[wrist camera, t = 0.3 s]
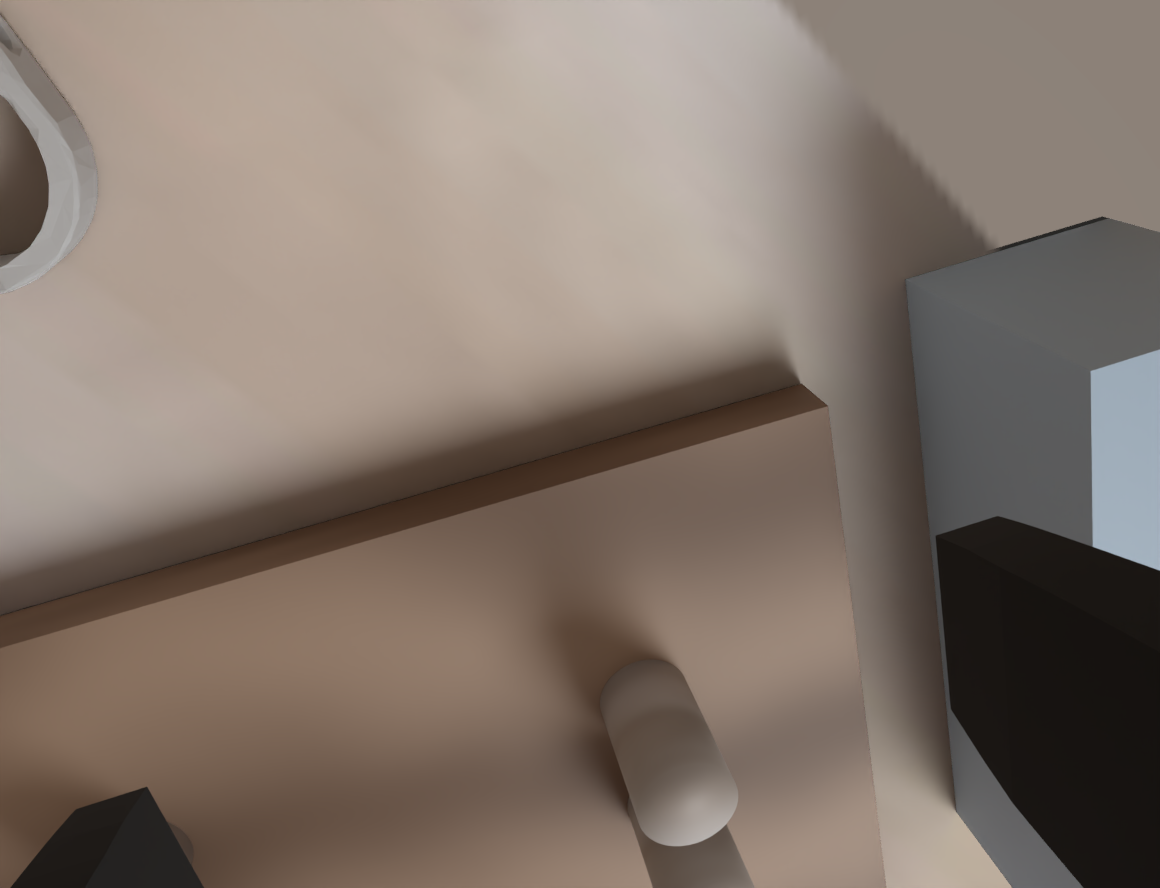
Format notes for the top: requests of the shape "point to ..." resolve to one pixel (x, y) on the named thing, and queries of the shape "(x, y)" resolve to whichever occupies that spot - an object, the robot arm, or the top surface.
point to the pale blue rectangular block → (1039, 434)
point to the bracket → (47, 163)
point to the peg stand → (485, 682)
